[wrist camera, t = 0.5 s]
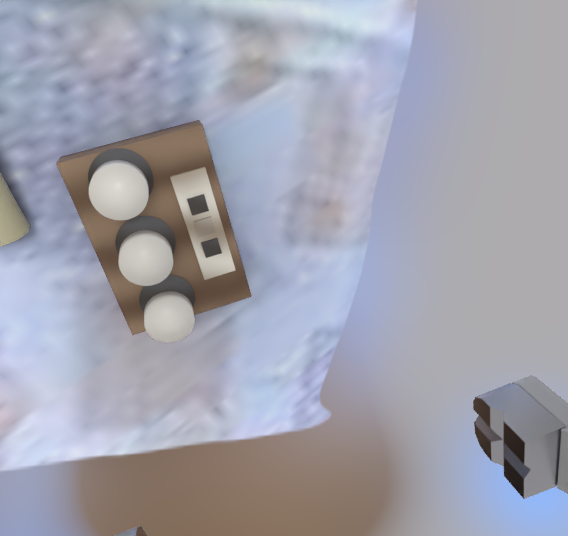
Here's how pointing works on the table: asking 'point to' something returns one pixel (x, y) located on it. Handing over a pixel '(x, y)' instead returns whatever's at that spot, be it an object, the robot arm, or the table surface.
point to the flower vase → (10, 216)
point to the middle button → (145, 258)
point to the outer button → (168, 317)
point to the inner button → (119, 190)
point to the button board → (165, 219)
